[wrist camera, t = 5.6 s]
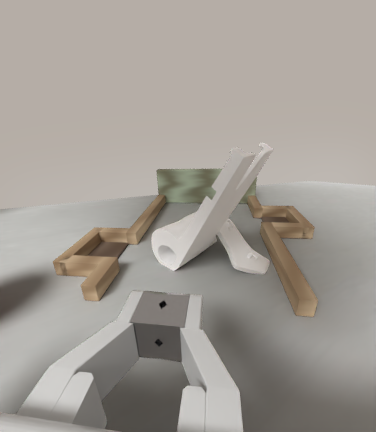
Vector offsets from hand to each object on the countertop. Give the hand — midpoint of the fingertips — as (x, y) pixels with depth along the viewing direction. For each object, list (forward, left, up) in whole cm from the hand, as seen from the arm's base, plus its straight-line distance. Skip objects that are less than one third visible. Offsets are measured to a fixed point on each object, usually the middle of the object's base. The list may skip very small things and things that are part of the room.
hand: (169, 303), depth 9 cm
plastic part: (+2, +12, -6) cm, 13 cm away
